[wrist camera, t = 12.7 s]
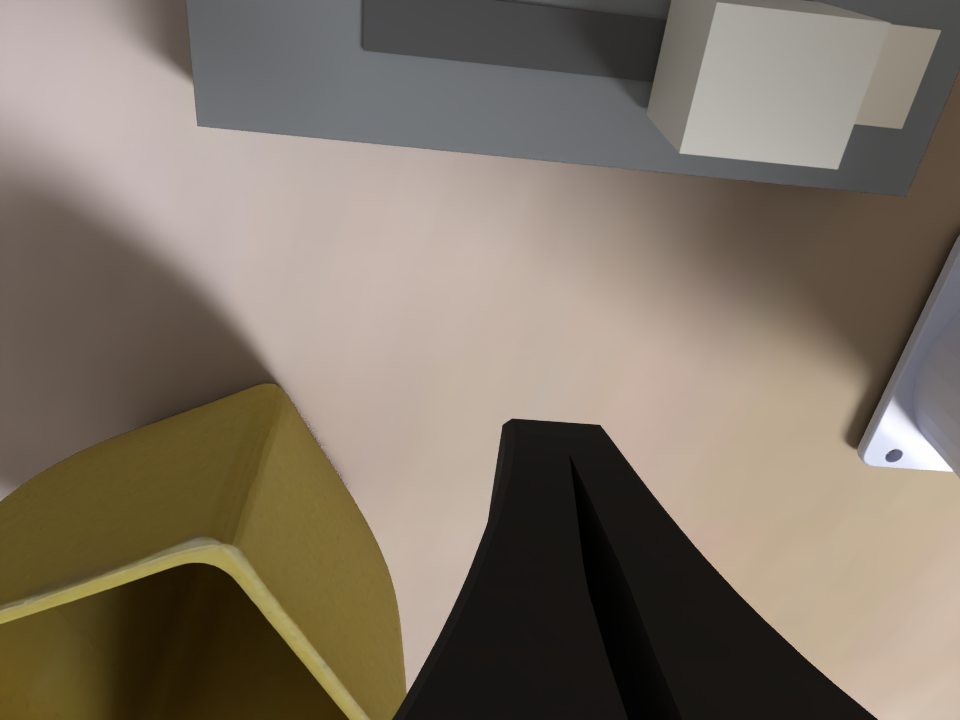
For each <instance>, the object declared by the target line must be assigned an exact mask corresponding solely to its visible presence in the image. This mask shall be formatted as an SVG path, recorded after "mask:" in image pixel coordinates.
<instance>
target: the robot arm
mask: <svg viewBox="0 0 960 720" xmlns="http://www.w3.org/2000/svg"><path fill="white" fill-rule="evenodd" d="M894 449H895V450H894ZM891 450H894V451H893V452H891V453H889V454H887V453H888V452H889V451H891ZM857 453H858V456H859V457H860V459H861V460H862V461H863V462H864V463H865V464H866V465H869V466H877V467H892V468H906V469H921V470H935V471H949V472H955V473H956V475H957V476H958V477H959V478H960V235H959V237H958V238H957V240H956V242H955V244H954V246H953V248H952V250H951V252H950V254H949V256H948V259H947V261H946V263H945V265H944V267H943V269H942V271H941V273H940V275H939V277H938V280H937V282H936V284H935V286H934V288H933V290H932V292H931V294H930V296H929V299H928V301H927V303H926V305H925V307H924V309H923V311H922V313H921V315H920V317H919V320H918V322H917V324H916V326H915V328H914V330H913V332H912V334H911V336H910V339H909V341H908V343H907V345H906V347H905V349H904V351H903V353H902V355H901V357H900V360H899V362H898V364H897V366H896V368H895V370H894V372H893V374H892V376H891V379H890V381H889V383H888V385H887V387H886V389H885V391H884V393H883V395H882V397H881V400H880V402H879V404H878V406H877V408H876V410H875V412H874V414H873V416H872V419H871V421H870V423H869V425H868V427H867V429H866V431H865V433H864V435H863V437H862V440H861V442H860V444H859V446H858V449H857ZM392 720H878V719H877V718H875V717H874V716H873V715H872V714H870V713H869V712H868V711H867V710H866V709H864V708H863V707H862V706H861V705H860V704H858V703H857V702H856V701H855V700H853V699H852V698H851V697H850V696H849V695H847V694H846V693H845V692H844V691H842V690H841V689H840V688H839V687H838V686H836V685H835V684H834V683H833V682H832V681H831V680H829V679H828V678H827V677H826V676H825V675H824V674H823V673H821V672H820V671H819V670H818V669H817V668H816V667H815V666H813V665H812V664H811V663H810V662H809V661H808V660H807V659H805V658H804V657H803V656H802V655H801V654H800V653H799V652H798V651H797V650H796V649H795V648H794V647H793V646H792V645H791V644H789V643H788V642H787V641H786V640H785V639H784V638H783V637H782V636H781V635H780V634H779V633H778V632H777V631H776V630H775V629H774V628H772V627H771V626H770V625H769V624H768V623H767V622H766V621H765V620H764V619H763V618H762V617H761V616H760V615H759V614H758V613H757V612H756V611H755V610H754V609H753V608H752V607H751V606H750V605H749V604H748V603H747V602H746V601H745V600H744V599H743V598H742V597H741V596H740V595H739V594H738V593H737V592H736V591H735V590H734V589H733V588H732V587H731V585H730V584H729V583H728V582H727V581H726V580H725V579H724V578H723V577H722V576H721V575H720V574H719V572H718V571H717V570H716V569H715V568H714V567H713V566H712V565H711V564H710V563H709V562H708V561H707V560H706V558H705V557H704V556H703V555H702V554H701V553H700V551H699V550H698V549H697V548H696V547H695V546H694V545H693V543H692V542H691V541H690V540H689V539H688V537H687V536H686V535H685V534H684V532H683V531H682V530H681V529H680V528H679V526H678V525H677V524H676V523H675V522H674V520H673V519H672V518H671V517H670V515H669V514H668V513H667V512H666V511H665V509H664V508H663V507H662V506H661V504H660V503H659V502H658V501H657V499H656V498H655V497H654V495H653V494H652V493H651V492H650V490H649V489H648V488H647V486H646V485H645V484H644V482H643V481H642V480H641V479H640V477H639V476H638V475H637V473H636V472H635V471H634V469H633V468H632V467H631V465H630V464H629V463H628V461H627V460H626V459H625V457H624V456H623V455H622V453H621V452H620V450H619V449H618V448H617V446H616V445H615V444H614V442H613V441H612V440H611V438H610V437H609V436H608V435H607V433H606V432H605V431H604V429H603V428H602V427H601V426H600V425H594V424H580V423H566V422H552V421H538V420H524V419H511V420H509V421H508V422H506V423H505V424H503V426H502V433H501V439H500V446H499V452H498V459H497V465H496V472H495V478H494V485H493V491H492V498H491V504H490V511H489V517H488V523H487V526H486V529H485V531H484V534H483V537H482V539H481V542H480V544H479V547H478V550H477V552H476V555H475V557H474V560H473V563H472V565H471V568H470V570H469V573H468V575H467V578H466V580H465V582H464V584H463V587H462V589H461V591H460V594H459V596H458V598H457V600H456V602H455V604H454V607H453V609H452V611H451V613H450V615H449V617H448V619H447V621H446V623H445V625H444V627H443V629H442V631H441V633H440V635H439V637H438V639H437V641H436V643H435V645H434V646H433V648H432V650H431V652H430V654H429V656H428V658H427V659H426V661H425V663H424V665H423V667H422V669H421V671H420V672H419V674H418V676H417V678H416V680H415V682H414V683H413V685H412V687H411V688H410V690H409V692H408V694H407V695H406V697H405V699H404V700H403V702H402V704H401V706H400V707H399V709H398V711H397V712H396V714H395V715H394V717H393V718H392Z"/></svg>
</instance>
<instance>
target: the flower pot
mask: <svg viewBox="0 0 960 720" xmlns="http://www.w3.org/2000/svg"><path fill="white" fill-rule="evenodd" d="M406 695H407V693H406V680H405V667H404V656H403V645H402V635H401V625H400V617H399V611H398V605H397V600H396V595H395V591H394V587H393V583H392V579H391V576H390V573H389V570H388V567H387V564H386V562H385V560H384V557H383V555H382V552H381V550H380V548H379V545H378V543H377V541H376V539H375V537H374V535H373V533H372V531H371V529H370V527H369V525H368V523H367V521H366V520H365V518H364V516H363V515H362V513H361V511H360V509H359V508H358V506H357V504H356V503H355V501H354V499H353V497H352V496H351V494H350V493H349V491H348V489H347V488H346V486H345V485H344V483H343V482H342V480H341V479H340V477H339V475H338V474H337V472H336V471H335V469H334V468H333V466H332V465H331V463H330V461H329V460H328V458H327V457H326V455H325V454H324V452H323V451H322V449H321V447H320V446H319V444H318V443H317V441H316V440H315V438H314V436H313V435H312V433H311V432H310V430H309V428H308V427H307V425H306V424H305V422H304V420H303V419H302V417H301V416H300V414H299V412H298V411H297V409H296V408H295V406H294V404H293V403H292V401H291V400H290V398H289V397H288V395H287V394H286V393H285V392H284V391H283V390H282V389H281V388H280V387H279V386H277V385H275V384H270V383H267V384H259V385H256V386H254V387H251V388H248V389H245V390H243V391H240V392H237V393H235V394H232V395H229V396H226V397H224V398H221V399H218V400H216V401H213V402H210V403H208V404H205V405H202V406H200V407H197V408H194V409H191V410H189V411H186V412H183V413H180V414H177V415H174V416H171V417H169V418H166V419H163V420H160V421H157V422H155V423H152V424H149V425H146V426H143V427H140V428H137V429H135V430H132V431H129V432H127V433H124V434H122V435H119V436H116V437H114V438H111V439H109V440H106V441H104V442H101V443H99V444H96V445H94V446H92V447H90V448H87V449H85V450H83V451H81V452H79V453H77V454H75V455H73V456H71V457H69V458H67V459H65V460H63V461H61V462H59V463H57V464H56V465H54V466H52V467H50V468H48V469H47V470H45V471H44V472H42V473H40V474H39V475H37V476H35V477H34V478H32V479H31V480H29V481H28V482H26V483H25V484H23V485H22V486H20V487H19V488H18V489H16V490H15V491H14V492H12V493H11V494H10V495H8V496H7V497H6V498H4V499H3V500H2V501H1V502H0V720H392V718H393V717H394V715H395V714H396V712H397V711H398V709H399V707H400V706H401V704H402V702H403V700H404V699H405V697H406Z"/></svg>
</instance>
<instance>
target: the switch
mask: <svg viewBox="0 0 960 720" xmlns="http://www.w3.org/2000/svg"><path fill="white" fill-rule="evenodd" d="M890 25H891V23H890V22H887V21H883V20H880V19H876V18H873V17H869V16H866V15H863V14H859V13H856V12H852V11H849V10H846V9H842V8H839V7H835V6H832V5H828V4H825V3H821V2H813V1H805V0H671V4H670V9H669V14H668V18H667V23H666V27H665V32H664V36H663V41H662V45H661V50H660V55H659V59H658V64H657V68H656V73H655V77H654V82H653V86H652V91H651V95H650V100H649V105H648V109H647V114H646V115H647V116H648V118H649V119H650V120H651V121H652V122H653V123H654V125H655V126H656V127H657V128H658V129H659V130H660V131H661V133H662V134H663V135H664V136H665V137H666V138H667V140H668V141H669V142H670V143H671V144H672V145H673V147H674V148H675V149H676V150H677V151H678V152H679V153H680V154H690V155H700V156H710V157H720V158H729V159H739V160H749V161H759V162H769V163H779V164H788V165H798V166H808V167H818V168H828V169H838V167H839V164H840V162H841V159H842V156H843V153H844V151H845V148H846V145H847V142H848V140H849V137H850V134H851V132H852V129H853V126H854V123H855V121H856V118H857V115H858V112H859V110H860V107H861V104H862V101H863V99H864V96H865V93H866V91H867V88H868V85H869V82H870V80H871V77H872V74H873V71H874V69H875V66H876V63H877V60H878V58H879V55H880V52H881V50H882V47H883V44H884V41H885V39H886V36H887V33H888V30H889V28H890Z"/></svg>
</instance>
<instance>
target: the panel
mask: <svg viewBox="0 0 960 720" xmlns="http://www.w3.org/2000/svg"><path fill="white" fill-rule="evenodd" d="M805 1H813V2H821V3H825V4H828V5H832V6H835V7H839V8H842V9H846V10H849V11H852V12H856V13H859V14H863V15H866V16H869V17H873V18H876V19H880V20H883V21H887V22H890V23H891V25H890V28H889V30H888V33H887V36H886V39H885V41H884V44H883V47H882V50H881V52H880V55H879V58H878V60H877V63H876V66H875V69H874V71H873V74H872V77H871V80H870V82H869V85H868V88H867V91H866V93H865V96H864V99H863V101H862V104H861V107H860V110H859V112H858V115H857V118H856V121H855V123H854V126H853V129H852V132H851V134H850V137H849V140H848V142H847V145H846V148H845V151H844V153H843V156H842V159H841V162H840V164H839V167H838V169H828V168H818V167H808V166H798V165H788V164H779V163H769V162H759V161H749V160H739V159H729V158H720V157H710V156H700V155H690V154H680V153H679V152H678V151H677V150H676V149H675V148H674V147H673V145H672V144H671V143H670V142H669V141H668V140H667V138H666V137H665V136H664V135H663V134H662V133H661V131H660V130H659V129H658V128H657V127H656V126H655V125H654V123H653V122H652V121H651V120H650V119H649V118H648V116H647V115H646V114H647V109H648V105H649V100H650V95H651V91H652V86H653V82H654V77H655V73H656V68H657V64H658V59H659V55H660V50H661V45H662V41H663V36H664V32H665V27H666V23H667V18H668V14H669V9H670V4H671V0H186V7H187V18H188V29H189V40H190V51H191V62H192V73H193V84H194V95H195V106H196V117H197V126H201V127H211V128H221V129H231V130H241V131H251V132H261V133H271V134H281V135H291V136H301V137H312V138H322V139H332V140H342V141H352V142H362V143H372V144H382V145H392V146H402V147H412V148H422V149H432V150H442V151H452V152H462V153H472V154H482V155H492V156H502V157H512V158H522V159H532V160H543V161H553V162H563V163H573V164H583V165H593V166H603V167H613V168H623V169H633V170H643V171H653V172H663V173H673V174H683V175H693V176H703V177H713V178H723V179H733V180H743V181H753V182H764V183H774V184H784V185H794V186H804V187H814V188H824V189H834V190H844V191H854V192H864V193H874V194H884V195H894V196H904V197H906V195H907V193H908V191H909V188H910V186H911V184H912V181H913V179H914V176H915V174H916V172H917V169H918V167H919V165H920V162H921V160H922V158H923V155H924V153H925V150H926V148H927V146H928V143H929V141H930V139H931V136H932V134H933V132H934V129H935V127H936V124H937V122H938V120H939V117H940V115H941V113H942V110H943V108H944V106H945V103H946V101H947V98H948V96H949V94H950V91H951V89H952V87H953V84H954V82H955V80H956V77H957V75H958V72H959V70H960V0H805Z"/></svg>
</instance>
